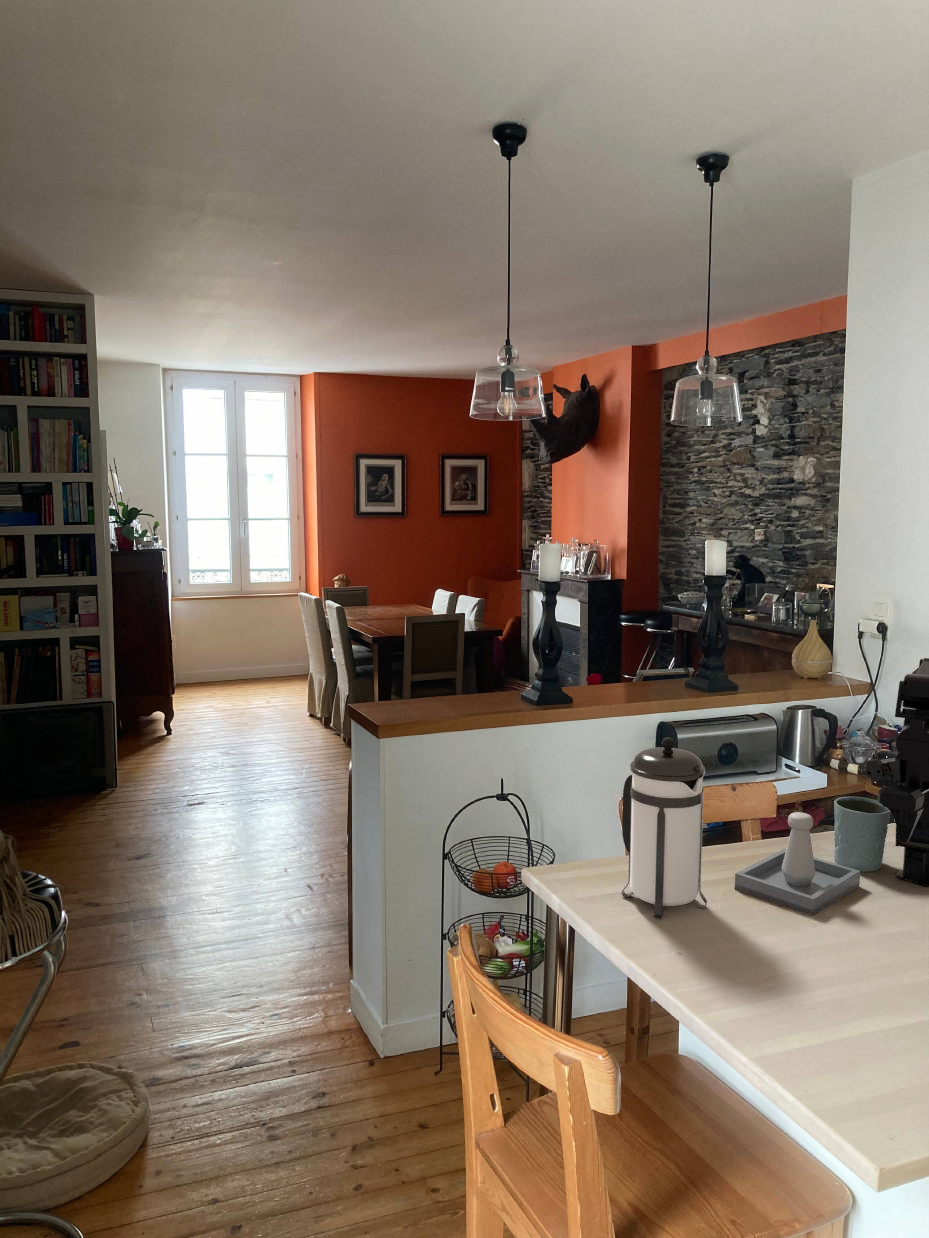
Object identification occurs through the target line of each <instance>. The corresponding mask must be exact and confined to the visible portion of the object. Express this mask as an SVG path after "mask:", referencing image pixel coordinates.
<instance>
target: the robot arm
mask: <svg viewBox="0 0 929 1238" xmlns="http://www.w3.org/2000/svg"><path fill="white" fill-rule="evenodd" d="M897 689H898V691H897V698H896V706H895V713H894V717H895V718H900V719H901V718H902V719H904V720H903V726H902V728H901V730H900V732H899V733H898V735H897V736H896V739H895V748H896V750H897V753H896V754H895V757H891V758H883V759H880V758H877V757H876V758H875V759H872V758H871V759H869V760H866V763H865V765H864V766H863V767H864V770H863V775H864V776H866V777H867V778H868V779H869V782H870V783H876V782H878V781H886V780H892V783H890V784H888V785H885V786H884V787H882V788H881V789H879V790H878V791H877V801H878V802H879V803H881V804H882V805H883V806H884V807H886V808H888V809H889V810H890V811H891V814H892V816H893V819H894V823H895V846H896V847H901V848H904V849H903V864H902V870H899V872H897V873H896V874H895V878H897V879H901V880H904V881H907V882H910V883H913V884H914V883H915V884H918V885H921V886H925V887H928V888H929V657H924V658H920V659H919V665H918V667H917V668H916V669H915V670H914V671H912V672H911V673H907V674H905V675H904V677H903V680H900V681H899V683H898V688H897ZM901 709H902V710H901ZM902 784H903V785H902Z"/></svg>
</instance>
